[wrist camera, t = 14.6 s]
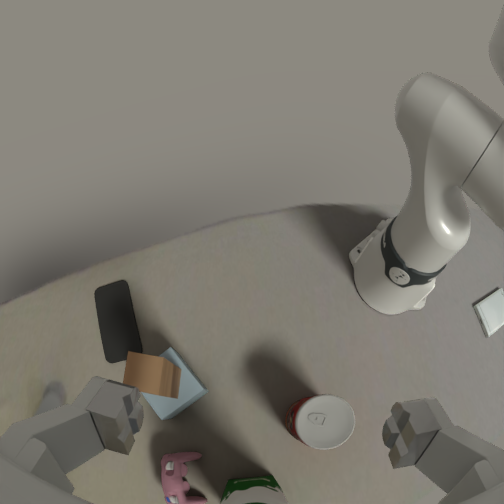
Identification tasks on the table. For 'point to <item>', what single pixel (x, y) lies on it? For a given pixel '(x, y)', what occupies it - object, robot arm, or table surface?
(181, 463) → the video game controller
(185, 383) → the base block
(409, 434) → the robot arm
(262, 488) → the milk carton
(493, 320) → the hard drive
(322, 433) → the canned food
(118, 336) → the phone
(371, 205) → the table surface
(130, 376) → the walnut post
